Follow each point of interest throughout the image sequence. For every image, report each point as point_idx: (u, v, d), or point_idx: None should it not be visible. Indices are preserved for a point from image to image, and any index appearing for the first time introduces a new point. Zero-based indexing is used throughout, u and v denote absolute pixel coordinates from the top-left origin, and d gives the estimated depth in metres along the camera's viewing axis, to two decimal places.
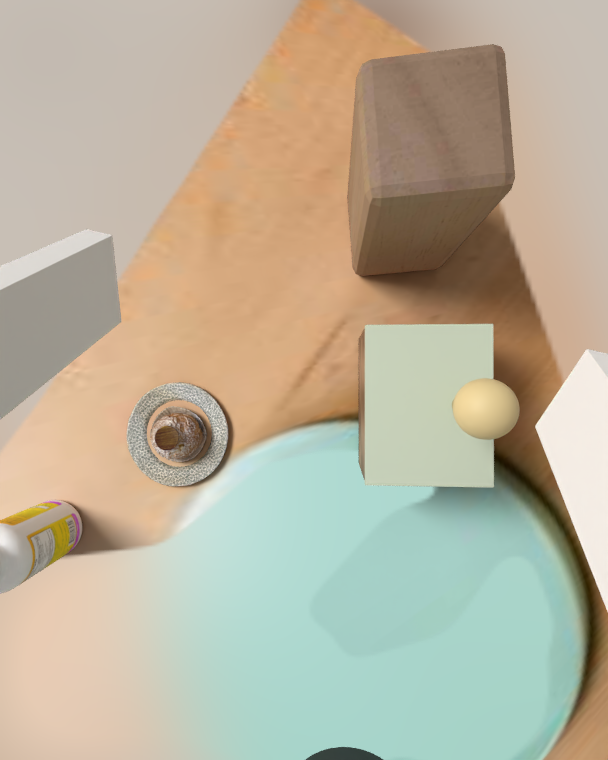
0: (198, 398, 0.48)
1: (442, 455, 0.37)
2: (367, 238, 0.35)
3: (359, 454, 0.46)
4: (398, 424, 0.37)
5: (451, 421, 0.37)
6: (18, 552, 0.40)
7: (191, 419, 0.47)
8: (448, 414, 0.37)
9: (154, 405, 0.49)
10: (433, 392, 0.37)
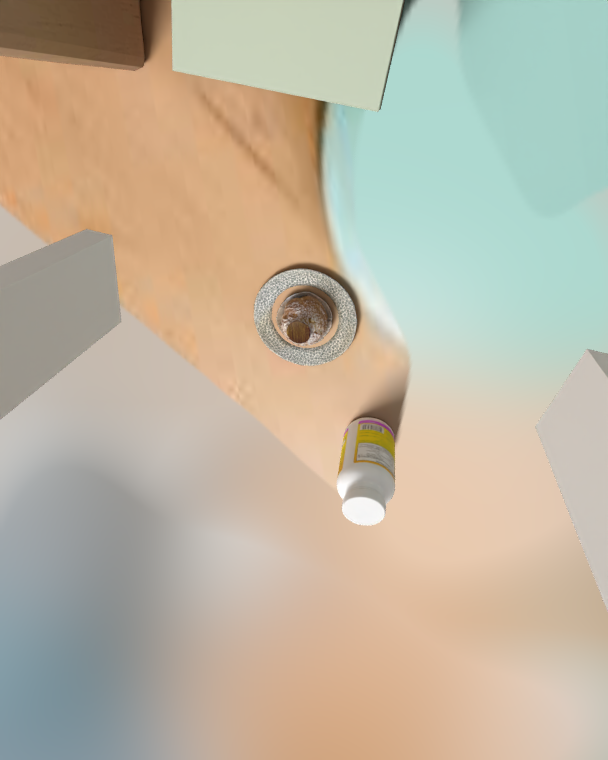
0: (272, 291, 0.47)
1: None
2: (52, 48, 0.27)
3: None
4: (305, 40, 0.26)
5: None
6: (362, 472, 0.46)
7: (289, 303, 0.46)
8: None
9: (274, 334, 0.50)
10: None
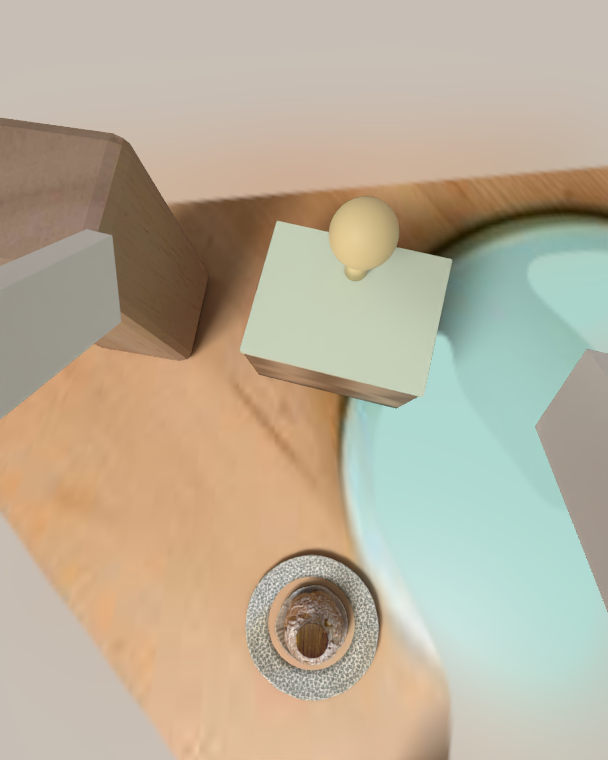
0: (274, 584, 0.38)
1: (406, 303, 0.32)
2: (141, 319, 0.30)
3: (387, 403, 0.40)
4: (361, 341, 0.32)
5: (370, 285, 0.33)
6: None
7: (297, 600, 0.37)
8: (362, 286, 0.33)
9: (268, 647, 0.37)
10: (334, 296, 0.33)
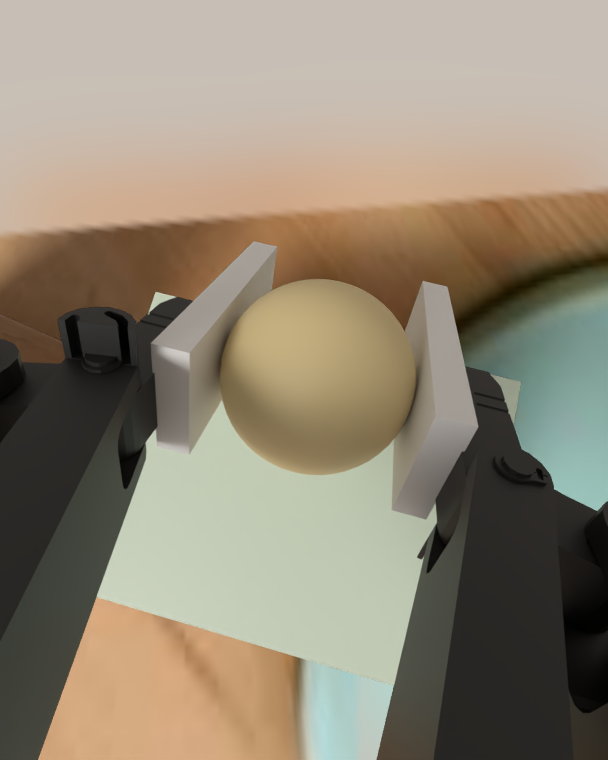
0: None
1: None
2: None
3: None
4: (324, 569, 0.15)
5: None
6: None
7: None
8: None
9: None
10: (268, 461, 0.15)
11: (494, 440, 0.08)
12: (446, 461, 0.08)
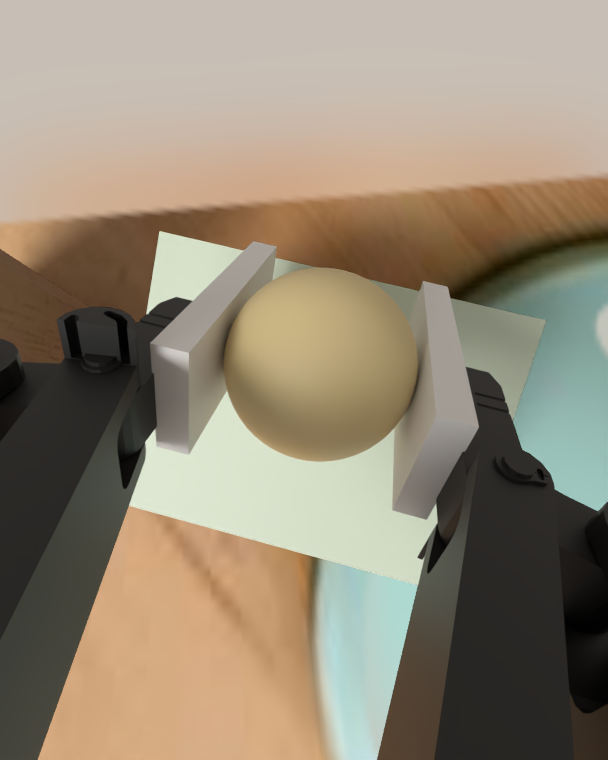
0: None
1: None
2: None
3: None
4: (339, 493, 0.17)
5: None
6: None
7: None
8: None
9: None
10: None
11: (494, 440, 0.08)
12: (446, 461, 0.08)
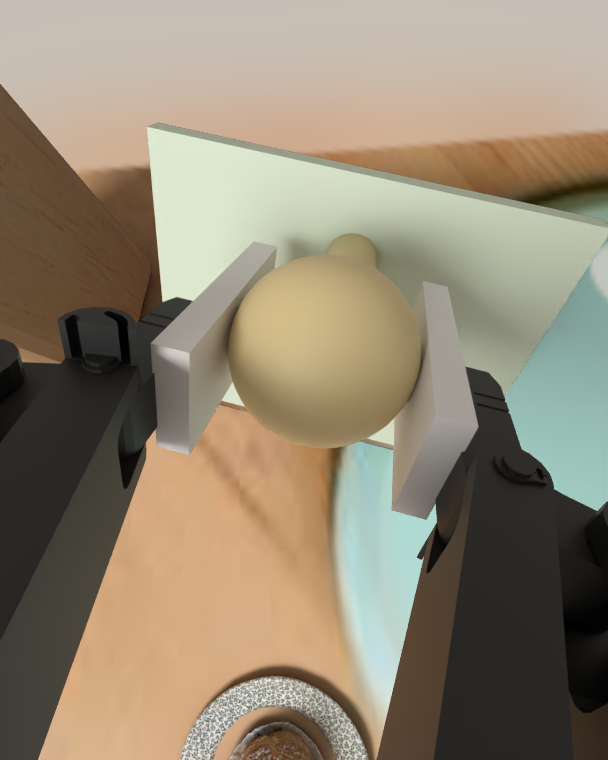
0: (220, 719, 0.26)
1: (460, 330, 0.15)
2: (0, 332, 0.18)
3: None
4: None
5: None
6: None
7: (251, 751, 0.25)
8: None
9: None
10: None
11: (494, 440, 0.08)
12: (446, 461, 0.08)
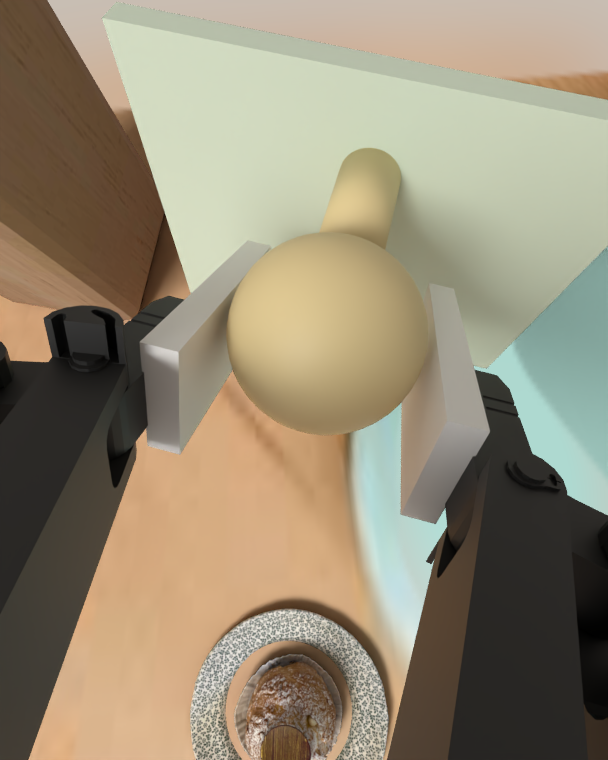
0: (234, 652, 0.26)
1: (495, 252, 0.13)
2: (21, 226, 0.18)
3: None
4: None
5: (409, 212, 0.13)
6: None
7: (266, 680, 0.25)
8: None
9: (224, 749, 0.25)
10: None
11: (505, 444, 0.08)
12: (457, 465, 0.08)
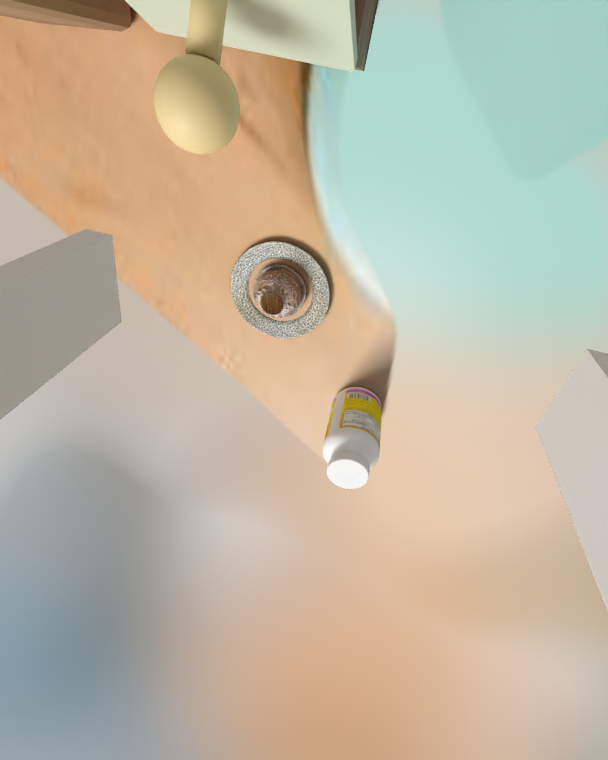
0: (247, 264, 0.48)
1: (301, 14, 0.22)
2: None
3: None
4: (268, 37, 0.26)
5: None
6: (347, 436, 0.47)
7: (263, 276, 0.47)
8: None
9: (251, 307, 0.51)
10: None
11: None
12: None
